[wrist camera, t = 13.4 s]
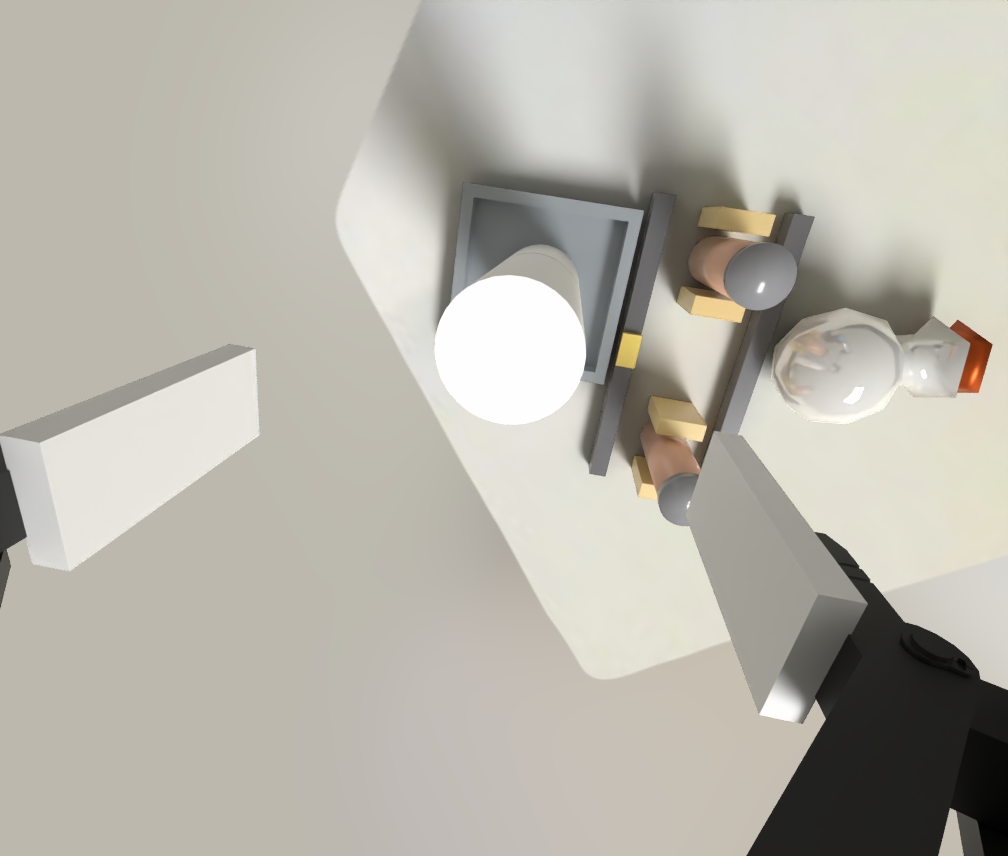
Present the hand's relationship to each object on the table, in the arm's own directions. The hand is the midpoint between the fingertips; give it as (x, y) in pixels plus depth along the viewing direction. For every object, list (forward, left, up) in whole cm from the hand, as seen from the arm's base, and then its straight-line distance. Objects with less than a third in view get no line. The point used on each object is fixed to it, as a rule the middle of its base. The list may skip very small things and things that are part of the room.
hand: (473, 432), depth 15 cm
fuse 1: (+13, +14, -36) cm, 41 cm away
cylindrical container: (0, 0, -36) cm, 36 cm away
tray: (0, 0, -36) cm, 36 cm away
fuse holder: (+4, +14, -36) cm, 39 cm away
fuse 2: (-4, +14, -36) cm, 39 cm away
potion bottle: (+2, +28, -36) cm, 46 cm away
